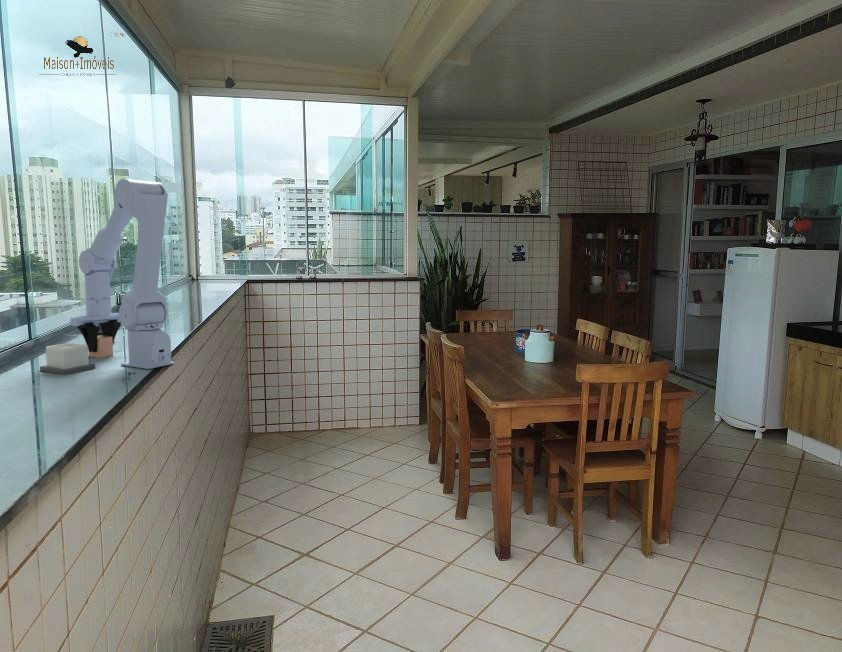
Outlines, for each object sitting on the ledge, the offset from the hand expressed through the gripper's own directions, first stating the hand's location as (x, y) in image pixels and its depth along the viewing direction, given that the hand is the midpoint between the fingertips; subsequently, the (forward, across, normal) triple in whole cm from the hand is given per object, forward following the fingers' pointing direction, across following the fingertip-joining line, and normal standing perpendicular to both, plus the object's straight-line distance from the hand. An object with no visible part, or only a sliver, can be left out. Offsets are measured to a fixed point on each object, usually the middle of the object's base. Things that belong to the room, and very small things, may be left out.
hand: (100, 350), depth 159 cm
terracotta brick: (+1, 0, 0) cm, 1 cm away
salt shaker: (+2, -14, -16) cm, 21 cm away
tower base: (+1, +15, +8) cm, 17 cm away
